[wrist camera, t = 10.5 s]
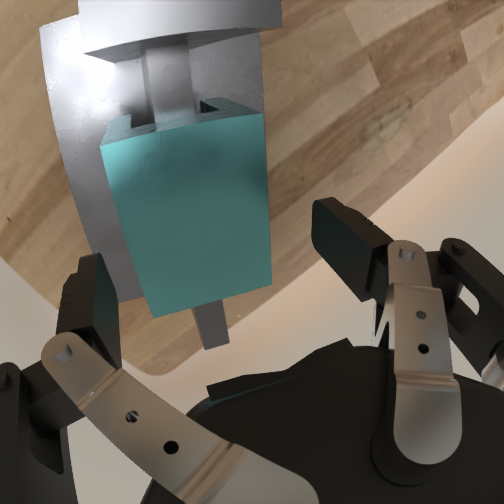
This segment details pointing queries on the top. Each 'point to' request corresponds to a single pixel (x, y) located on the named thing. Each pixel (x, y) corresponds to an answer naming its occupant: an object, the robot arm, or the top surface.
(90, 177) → the stand
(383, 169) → the top surface
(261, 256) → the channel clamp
